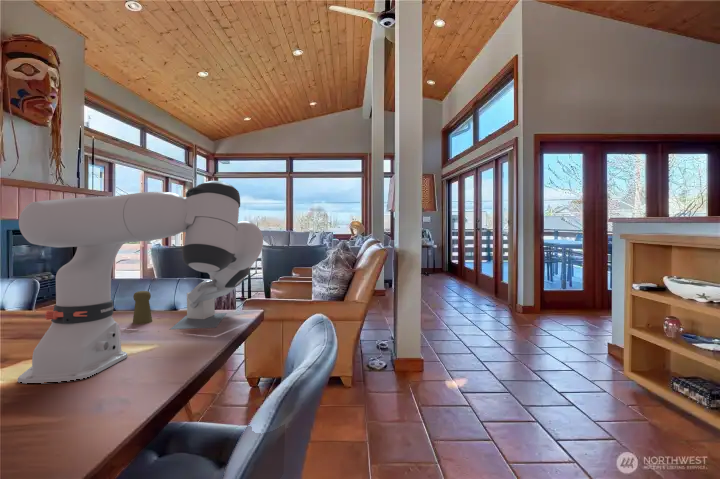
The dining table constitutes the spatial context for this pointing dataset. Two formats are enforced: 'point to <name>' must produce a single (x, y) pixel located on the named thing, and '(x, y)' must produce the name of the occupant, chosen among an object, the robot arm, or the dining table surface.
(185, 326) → the mat
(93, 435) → the dining table surface
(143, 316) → the cork
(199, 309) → the cover
